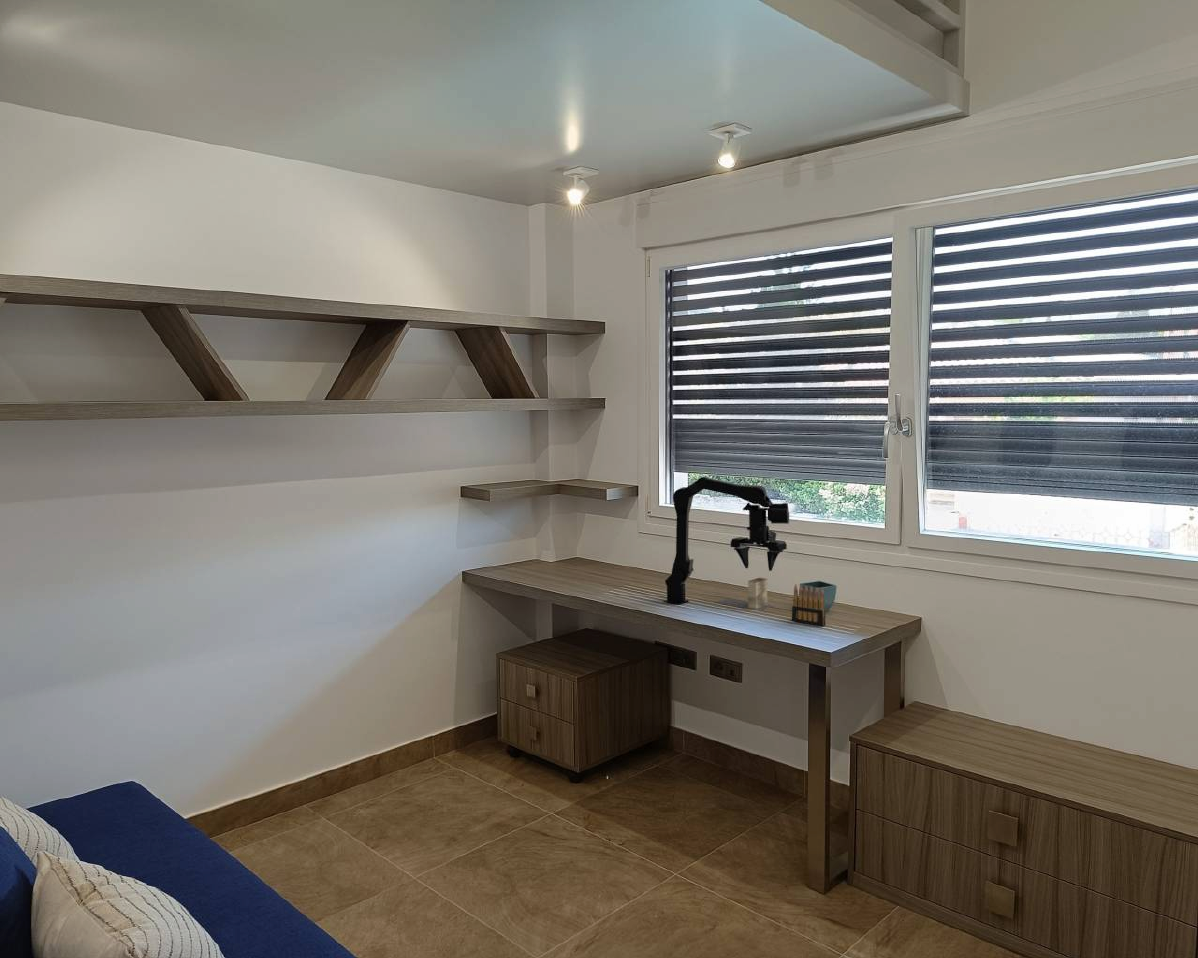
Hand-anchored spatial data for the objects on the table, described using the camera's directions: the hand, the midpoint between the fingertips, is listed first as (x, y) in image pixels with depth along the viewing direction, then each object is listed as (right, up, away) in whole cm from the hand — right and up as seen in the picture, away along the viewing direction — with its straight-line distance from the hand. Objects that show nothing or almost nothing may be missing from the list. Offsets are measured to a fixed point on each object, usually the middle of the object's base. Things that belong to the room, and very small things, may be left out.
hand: (758, 569), depth 308 cm
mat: (-4, -13, +4) cm, 14 cm away
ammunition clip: (+12, -15, -22) cm, 29 cm away
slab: (0, -12, 0) cm, 12 cm away
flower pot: (+19, -13, -6) cm, 24 cm away
